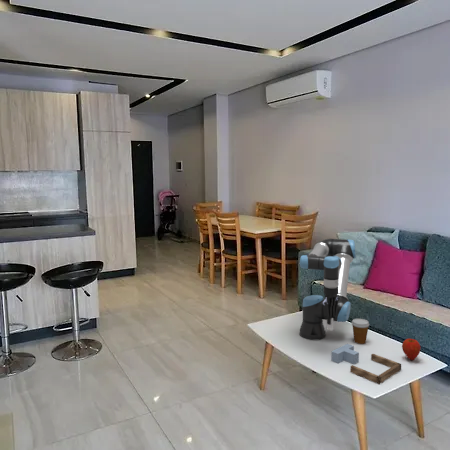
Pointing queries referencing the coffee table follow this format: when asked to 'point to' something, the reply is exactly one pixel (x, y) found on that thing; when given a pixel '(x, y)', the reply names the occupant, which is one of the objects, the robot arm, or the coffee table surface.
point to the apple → (411, 348)
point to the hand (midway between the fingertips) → (330, 329)
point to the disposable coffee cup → (360, 330)
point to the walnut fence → (382, 377)
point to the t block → (345, 354)
